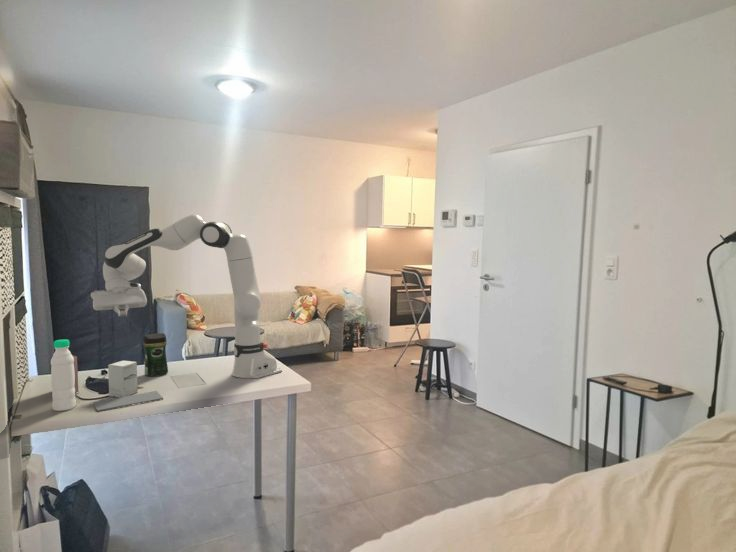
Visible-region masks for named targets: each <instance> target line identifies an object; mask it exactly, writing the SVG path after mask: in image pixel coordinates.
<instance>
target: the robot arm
mask: <svg viewBox="0 0 736 552" xmlns="http://www.w3.org/2000/svg"><path fill="white" fill-rule="evenodd" d="M199 239H200V241H202V243H203V244H205V245H206V246H208V247H211V248H218V249H223V250H224V251H225V255H226V261H227V266H228V271H229V278H230V282H231V283H230V284H231V288H232V293H233V304H234V305H233V307H234V309H233V311H234V313H233V314H234V344H233V345H234V348H233V354H234V355H233V356H234V361H233V362H234V363H233V368H232V372H231V376H233V377H236V378H242V379H244V378H245V379H247V378H248V379H259V378H264V377H267V376H271V375H275V374H278V373H282V372H283V369H282V367H281V366H279V365H278V364H277V363H278V362H277V359H276V358H275V356H274V355H272V354H271V353H269V352H268V351H266V350H265V349H267V348H268V347H269V344H267V343H265V342H262V341H261V323H260V309H261V306H262V300H261V299H262V298H261V294H260V289H259V285H258V281H257V279H258V278H257V274H256V270H255V269H256V268H255V264H254V259H253V257H254V256H253V252H252V249H251V245H250V242H249V240H248V237H247V236H246V235H244V234H241V233H233V231H232V229H231V227H230V225H228V224H227V223H225V222H221V221H217V220H216V221H215V220H214V221H209V222H206V221H205V220H204V219H203V217H202V216H201V215H198V214H197V213H196V214H195V213H193V214H189V215H186V216H184V217H183V218H180V219H179V220H177V221H175V222H174V223H172V224H169V225H167V226H165V227H161V228H152V229H150V230H147V231H145V232H142V233H140V234H138V235H135V236H134V237H131V238H129V239H127V240H125V241H123V242H120V243H116V244H113V245H111V246H109V247H107V249H106V250H105V251H104V255H103V259H104V262H103V265H102V275H103V280H104V281H105V282H104V283H105V284H104V286H105V289H102V290H94V291H92V292H90V298H91V299H92V300H93V301H92V307H93V310H95V311H107V310H109V311H110V310H114V312H115V313H117V316H118V317H128V311H129V309H132V308H145V307H146V306H147V303H148V299H147V295H146V293H145V291H144V290H143V289H142V285H141V284H140V283H138V282H132V281H133V280H136V279H137V278H139V277H141V276H143V275H144V274H145V272H146V269H147V262H146V260H144V259H143V258H141V257H140V256H139V255H137V254H136V253H137V252H139V251H140V250H143V249H145V248H148V247H159V248H164V249H167V250H170V251H179V250H182V249H184V248H186V247H187V246H189V245H191V244H192V243H193V242H195V241H197V240H199ZM120 309H124V310H120Z"/></svg>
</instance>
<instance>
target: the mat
mask: <svg viewBox="0 0 736 552" xmlns="http://www.w3.org/2000/svg"><path fill="white" fill-rule="evenodd" d="M160 399H162V400H164V397H163V396H162V395H161V394H160V393H159V392H158V391H157V390H153V391H148V392H143V393H142V392H141V393H135V394H131V395H129V396H125V397H113V398H110V399H103V400H98V401H94V402H92V403H94V404H93V405H95V406H94V407H96V408H95V410H96V409H97V410H96V412H97V411H98V412H97V413H99V411H100V412H104V410H105V411H109V410H108V409H110V410H113V409H112V408H115V409H119V408H118V407H120V408H124V407H123V406H126V407H129V406H128V405H131V406H133V405H132V404H136V405H138V404H137V403H141V404H144V403H143V402H147V403H150V402H149V401H152V402H156V401H155V400H157V401H161V400H160Z"/></svg>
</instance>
